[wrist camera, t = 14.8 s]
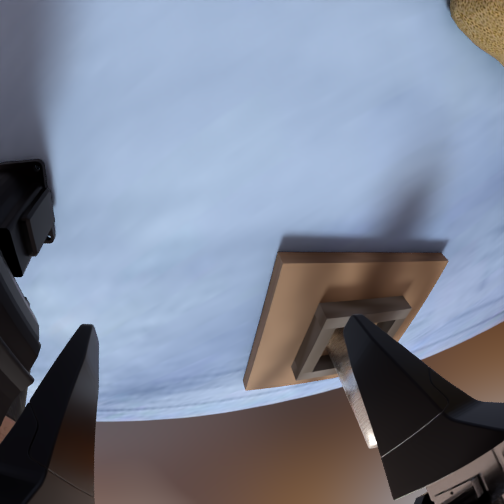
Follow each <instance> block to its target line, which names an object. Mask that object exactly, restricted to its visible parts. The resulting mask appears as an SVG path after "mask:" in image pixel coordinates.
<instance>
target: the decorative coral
mask: <svg viewBox="0 0 504 504" xmlns="http://www.w3.org/2000/svg"><path fill="white" fill-rule="evenodd" d="M450 12H451V17H452V18H453V20H454V21H455V23H456V25H457V26H458V28H459V29H460V30H461V31H462V32H463V33H464V34H465V35H466V36H467V37H468V38H469V39H470V40H471V41H472V42H473V43H474V44H475V45H477V46H478V47H479V48H480V49H482V50H483V51H485V52H486V53H488V54H490V55H491V56H492V57H494V58H495V59H497V60H498V61H499V62H500V63H501V64H502V65H503V66H504V0H450Z"/></svg>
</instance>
